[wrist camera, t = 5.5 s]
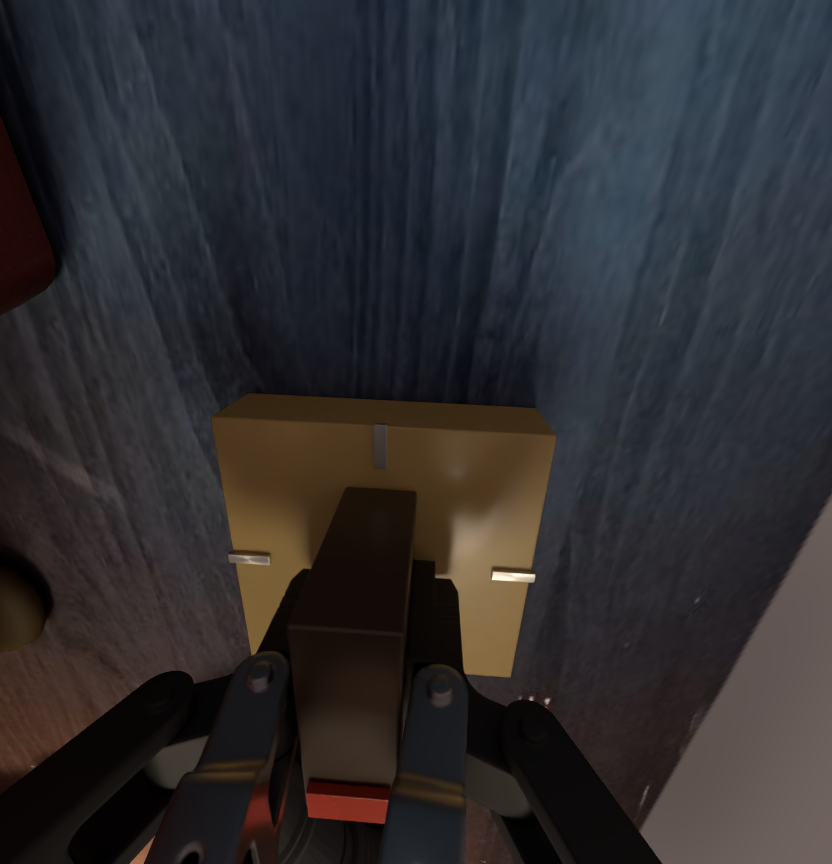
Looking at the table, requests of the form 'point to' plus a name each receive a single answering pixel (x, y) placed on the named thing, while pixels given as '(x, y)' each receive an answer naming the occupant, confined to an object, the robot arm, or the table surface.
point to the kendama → (18, 611)
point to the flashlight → (322, 834)
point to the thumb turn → (354, 655)
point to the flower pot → (20, 235)
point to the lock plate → (394, 470)
